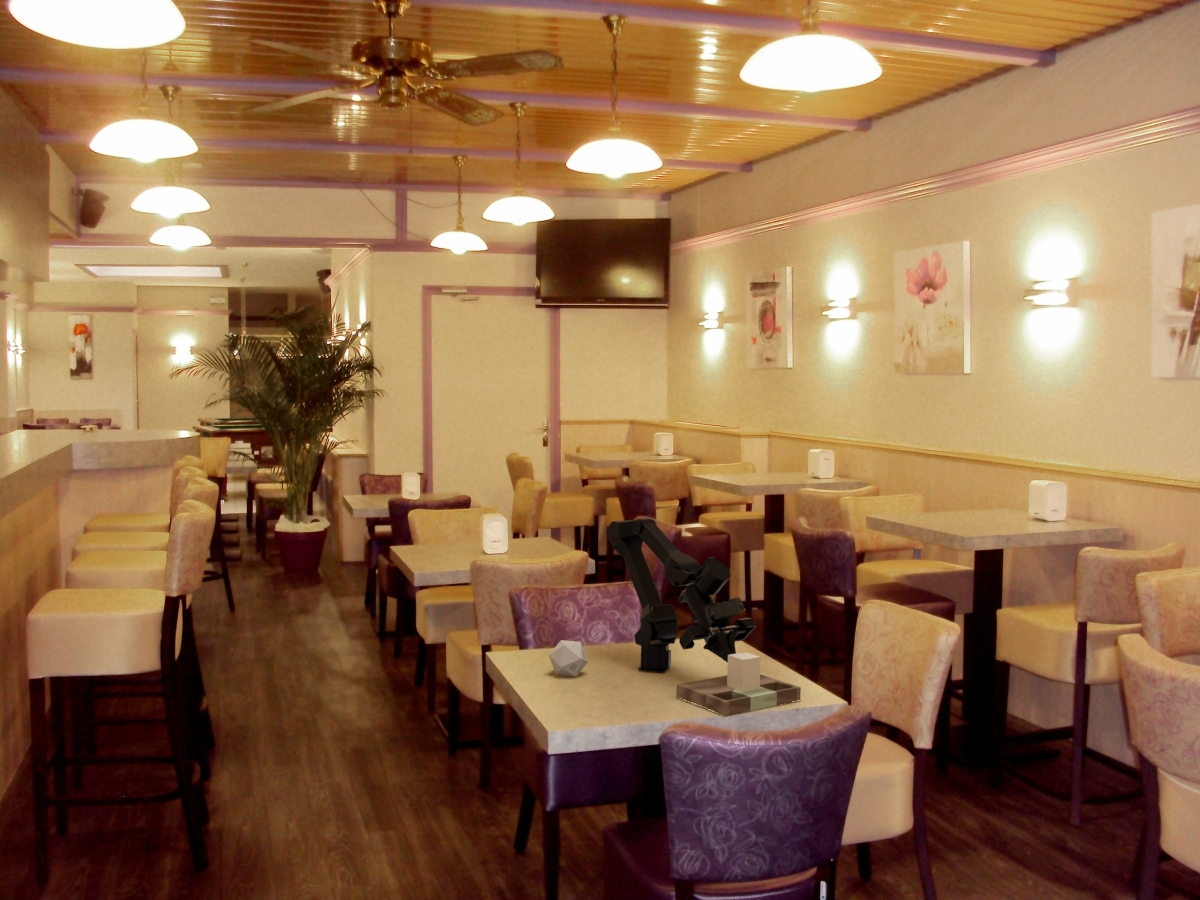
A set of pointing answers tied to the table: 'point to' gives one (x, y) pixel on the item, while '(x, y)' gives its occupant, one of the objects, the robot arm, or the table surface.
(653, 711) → the table surface
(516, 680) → the table surface
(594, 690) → the table surface
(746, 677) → the block
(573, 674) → the die
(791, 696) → the brown compartment tray
